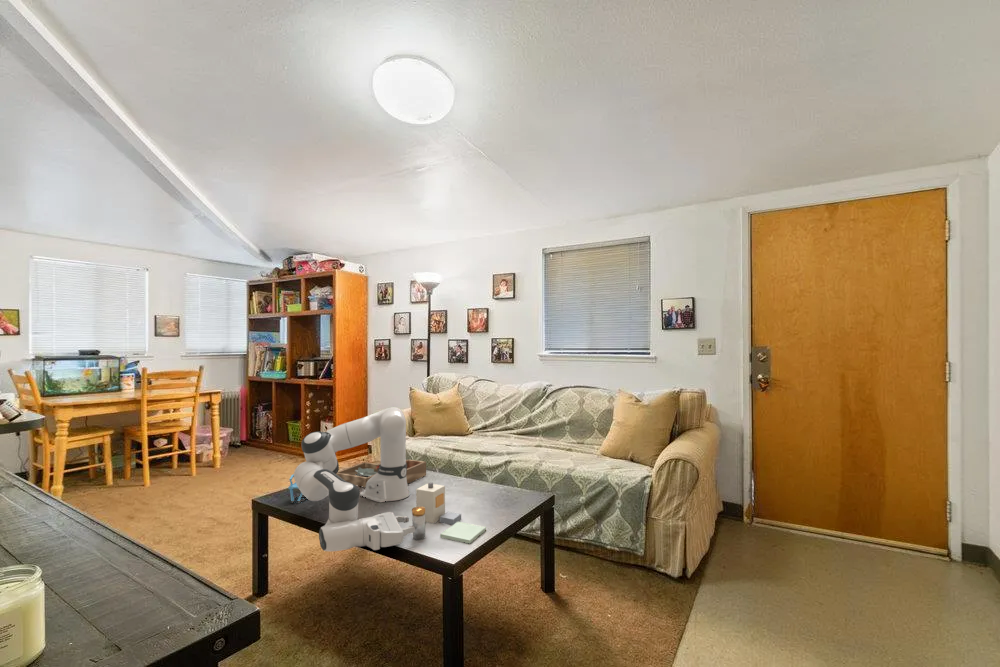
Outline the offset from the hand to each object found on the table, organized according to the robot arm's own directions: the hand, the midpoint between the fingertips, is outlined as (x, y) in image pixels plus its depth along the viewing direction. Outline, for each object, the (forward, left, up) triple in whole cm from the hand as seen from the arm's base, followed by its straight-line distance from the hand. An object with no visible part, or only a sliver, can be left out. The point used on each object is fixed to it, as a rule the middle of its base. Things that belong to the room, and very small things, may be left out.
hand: (411, 523), depth 159 cm
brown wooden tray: (-63, +46, -5) cm, 79 cm away
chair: (-68, +10, -6) cm, 69 cm away
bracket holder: (-44, +54, -5) cm, 70 cm away
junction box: (-4, +18, -5) cm, 20 cm away
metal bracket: (-64, +49, -6) cm, 80 cm away
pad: (+15, +11, -5) cm, 19 cm away
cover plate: (+4, +19, -6) cm, 21 cm away
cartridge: (+2, +2, -5) cm, 6 cm away
